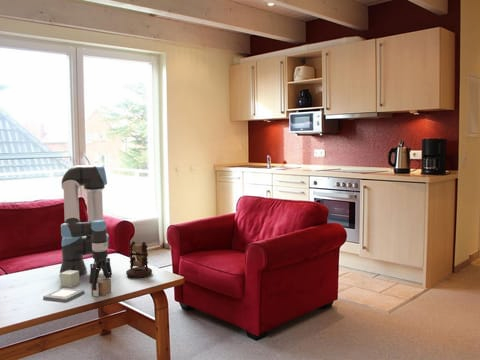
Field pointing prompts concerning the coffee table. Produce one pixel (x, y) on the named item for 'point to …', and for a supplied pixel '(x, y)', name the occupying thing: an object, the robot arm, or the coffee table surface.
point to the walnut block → (103, 286)
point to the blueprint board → (63, 294)
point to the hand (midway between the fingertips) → (101, 292)
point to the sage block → (69, 278)
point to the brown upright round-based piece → (138, 260)
